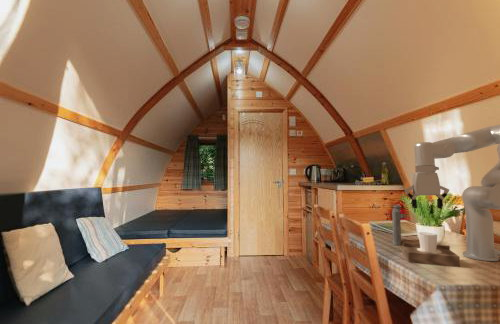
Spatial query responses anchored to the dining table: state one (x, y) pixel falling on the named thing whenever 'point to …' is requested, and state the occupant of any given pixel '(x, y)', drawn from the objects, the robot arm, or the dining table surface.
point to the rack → (430, 255)
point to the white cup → (428, 242)
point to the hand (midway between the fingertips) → (427, 208)
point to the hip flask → (396, 225)
